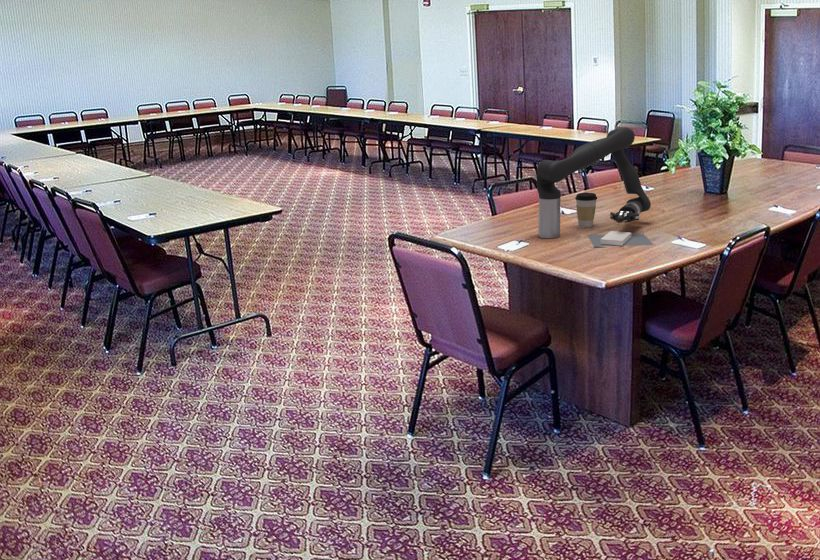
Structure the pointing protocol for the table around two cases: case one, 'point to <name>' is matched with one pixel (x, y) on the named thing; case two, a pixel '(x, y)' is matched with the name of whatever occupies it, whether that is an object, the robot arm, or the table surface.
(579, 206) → the coffee cup
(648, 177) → the table surface
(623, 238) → the tile
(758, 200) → the table surface
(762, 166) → the table surface
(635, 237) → the mat
